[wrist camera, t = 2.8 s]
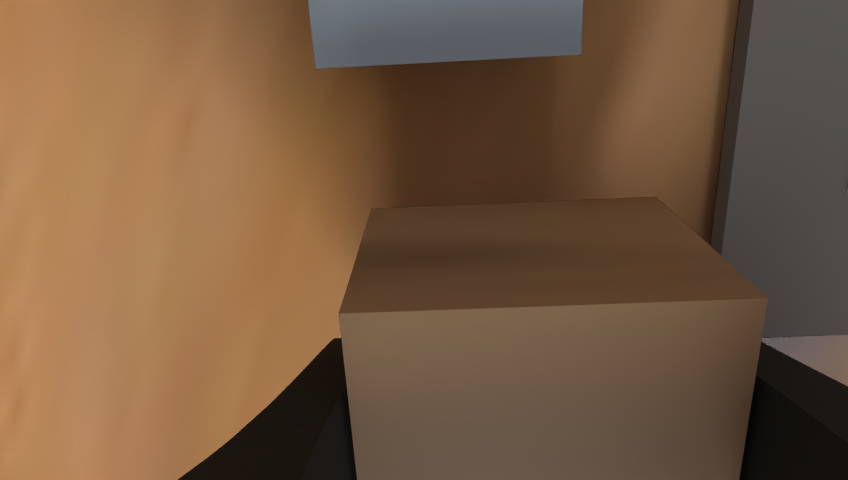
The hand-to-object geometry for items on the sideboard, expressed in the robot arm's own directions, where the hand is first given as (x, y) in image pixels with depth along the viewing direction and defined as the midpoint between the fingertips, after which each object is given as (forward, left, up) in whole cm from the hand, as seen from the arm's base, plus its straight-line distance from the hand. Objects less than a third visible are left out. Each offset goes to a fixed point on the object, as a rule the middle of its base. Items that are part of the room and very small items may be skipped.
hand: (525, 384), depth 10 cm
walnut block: (0, 0, -2) cm, 2 cm away
